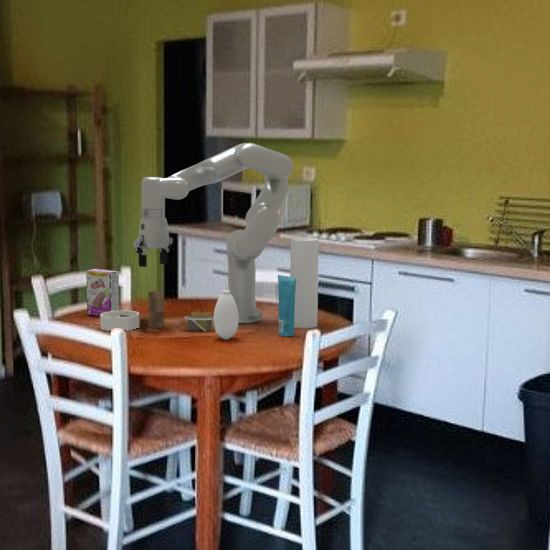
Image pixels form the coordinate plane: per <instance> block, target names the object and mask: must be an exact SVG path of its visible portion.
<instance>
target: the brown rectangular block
mask: <svg viewBox="0 0 550 550" xmlns="http://www.w3.org/2000/svg"><path fill="white" fill-rule="evenodd" d="M164 294H165V293H164V291H155V290H151V291H148V327H154V328H153V329H155V328H162V327H164V328H165V304H164V303H165V297H164V296H165V295H164ZM162 329H163V328H162Z"/></svg>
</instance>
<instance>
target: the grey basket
mask: <svg viewBox="0 0 550 550" xmlns="http://www.w3.org/2000/svg"><path fill="white" fill-rule="evenodd" d="M184 319H186V320H187V330H188V329H189V330H188V331H200V330H203V331H202V332H208V331H207V330H212V329H213V327H212V326H213V325H212V324H213V323H212V322H213V321H212V320H214V315H213V316H212V315H211V316H210V312H208V311H191V315H184ZM212 331H213V330H212Z"/></svg>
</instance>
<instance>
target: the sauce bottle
mask: <svg viewBox="0 0 550 550" xmlns="http://www.w3.org/2000/svg"><path fill="white" fill-rule="evenodd" d="M224 288H225V289H224V290H222V291H221V294H220V296H219V297H218V299H217V302H216V304H215V307H214V310H213V316H214V319H213V327H214V329H215V332H216V334H217V336H219V337H220V338H221V339H222V340H230V339H231V338H232V337H233V336H235V334H236V332H237V330H238V328H239V327H238V326H239V324H240V323H239V314H238V309H237V305H236V302H235V300H234V298H233V296H232V295H231V294H230V291H229V290H228V282H225V287H224Z"/></svg>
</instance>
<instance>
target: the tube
mask: <svg viewBox="0 0 550 550" xmlns="http://www.w3.org/2000/svg"><path fill="white" fill-rule="evenodd" d="M296 278H297V277H290V276H287V275H282V274H280V275H279V274H278V275H277V285H278V286H277V287H278V335H279V336H280V337H293V336H294V335H295V327H294V313H295V289H296Z"/></svg>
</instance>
